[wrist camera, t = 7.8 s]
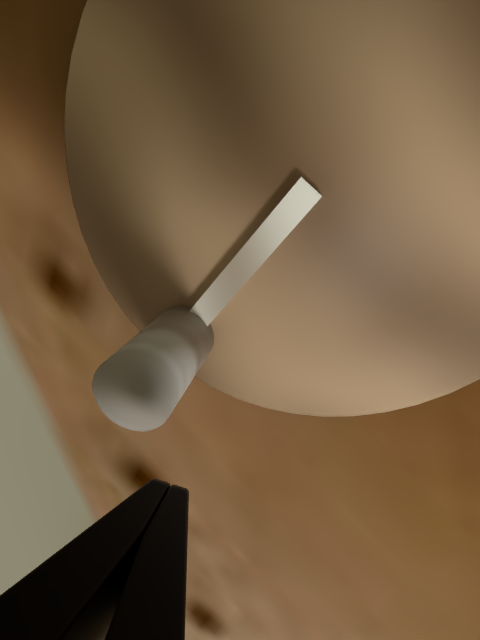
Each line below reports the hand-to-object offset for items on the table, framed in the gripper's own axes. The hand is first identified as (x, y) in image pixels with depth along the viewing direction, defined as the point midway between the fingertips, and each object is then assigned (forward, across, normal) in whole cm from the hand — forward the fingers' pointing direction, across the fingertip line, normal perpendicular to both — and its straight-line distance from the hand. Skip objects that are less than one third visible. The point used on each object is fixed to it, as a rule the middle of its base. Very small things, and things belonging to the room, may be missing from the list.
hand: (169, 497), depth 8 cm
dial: (+7, -1, -7) cm, 10 cm away
